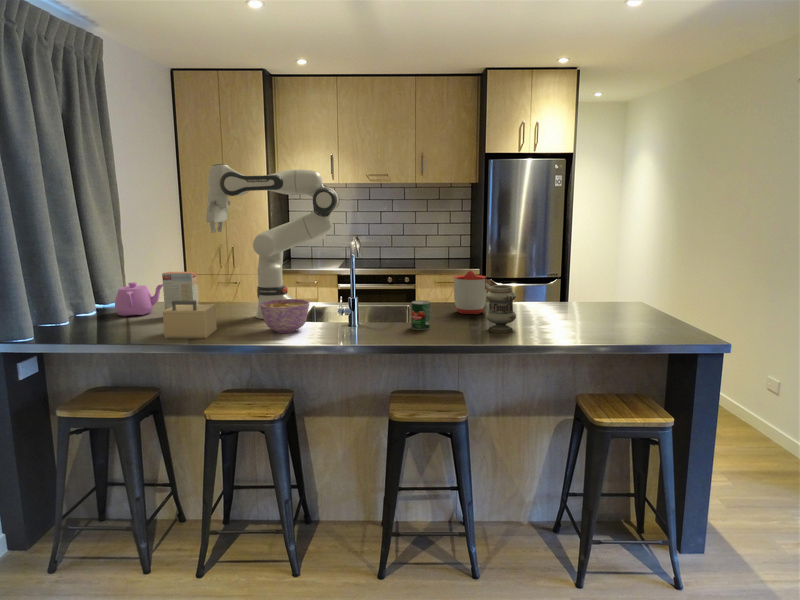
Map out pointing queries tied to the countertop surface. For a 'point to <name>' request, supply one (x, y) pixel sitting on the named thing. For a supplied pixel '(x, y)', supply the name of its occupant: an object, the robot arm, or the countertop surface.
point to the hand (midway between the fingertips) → (216, 232)
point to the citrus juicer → (470, 293)
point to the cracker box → (179, 287)
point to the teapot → (135, 300)
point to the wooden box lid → (188, 307)
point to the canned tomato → (420, 315)
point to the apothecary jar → (501, 307)
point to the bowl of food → (285, 314)
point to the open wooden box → (189, 324)
